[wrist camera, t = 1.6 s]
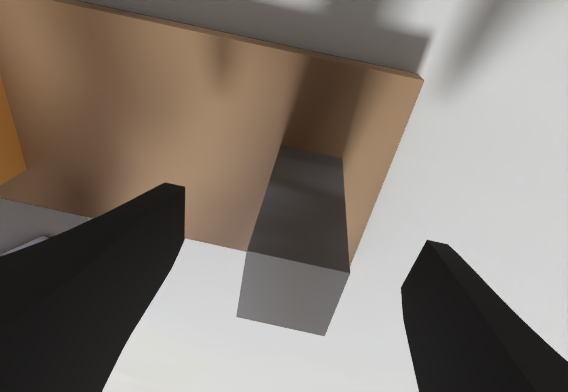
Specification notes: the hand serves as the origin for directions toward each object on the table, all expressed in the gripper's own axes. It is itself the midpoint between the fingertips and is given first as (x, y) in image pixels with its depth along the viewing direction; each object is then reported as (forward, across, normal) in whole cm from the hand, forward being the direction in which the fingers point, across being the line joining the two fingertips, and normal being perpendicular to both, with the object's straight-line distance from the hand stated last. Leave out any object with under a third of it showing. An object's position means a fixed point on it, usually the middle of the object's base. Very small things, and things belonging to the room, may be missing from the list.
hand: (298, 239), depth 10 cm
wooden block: (+5, +9, 0) cm, 10 cm away
